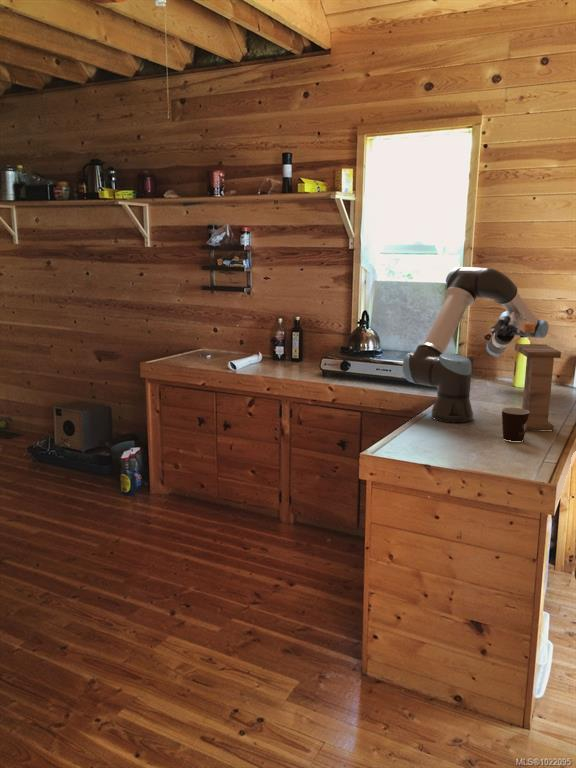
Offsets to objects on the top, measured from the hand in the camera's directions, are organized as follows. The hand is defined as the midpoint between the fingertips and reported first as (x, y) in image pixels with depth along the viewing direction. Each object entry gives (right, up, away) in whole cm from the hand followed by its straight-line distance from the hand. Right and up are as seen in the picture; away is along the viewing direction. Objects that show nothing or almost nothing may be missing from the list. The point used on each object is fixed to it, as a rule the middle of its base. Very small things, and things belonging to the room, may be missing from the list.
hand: (518, 315), depth 255 cm
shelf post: (-3, -41, -19) cm, 46 cm away
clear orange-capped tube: (0, -5, -3) cm, 6 cm away
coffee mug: (-14, -45, -36) cm, 60 cm away
